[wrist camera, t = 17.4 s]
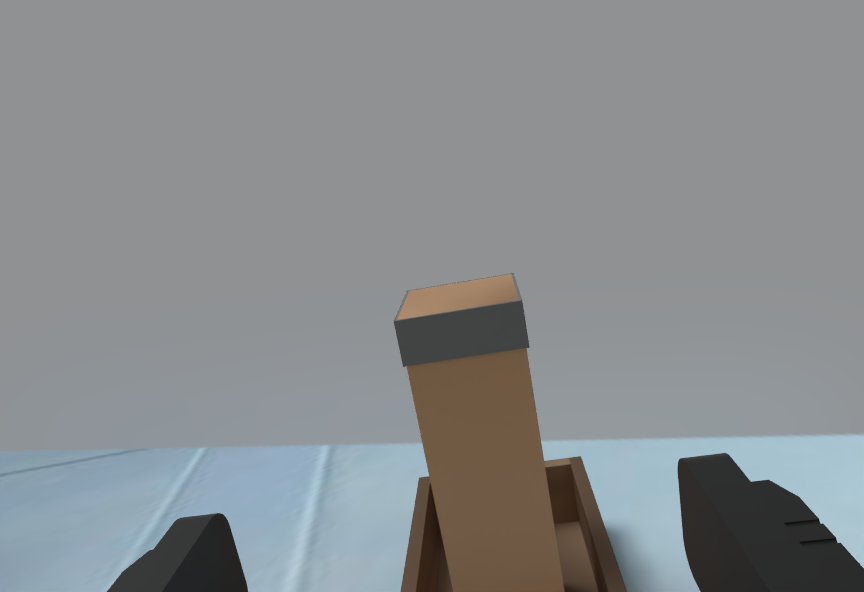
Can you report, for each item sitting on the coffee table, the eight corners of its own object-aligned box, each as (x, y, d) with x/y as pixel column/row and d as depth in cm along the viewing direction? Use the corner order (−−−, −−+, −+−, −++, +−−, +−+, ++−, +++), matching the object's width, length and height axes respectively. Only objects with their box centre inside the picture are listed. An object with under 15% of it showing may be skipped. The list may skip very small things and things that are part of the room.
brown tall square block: (466, 671, 23) (393, 321, 20) (467, 592, 27) (407, 290, 24) (578, 660, 23) (521, 300, 20) (562, 581, 27) (513, 273, 24)
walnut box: (408, 791, 20) (384, 692, 19) (433, 545, 32) (419, 477, 31) (665, 771, 19) (652, 667, 18) (590, 526, 31) (580, 456, 30)
